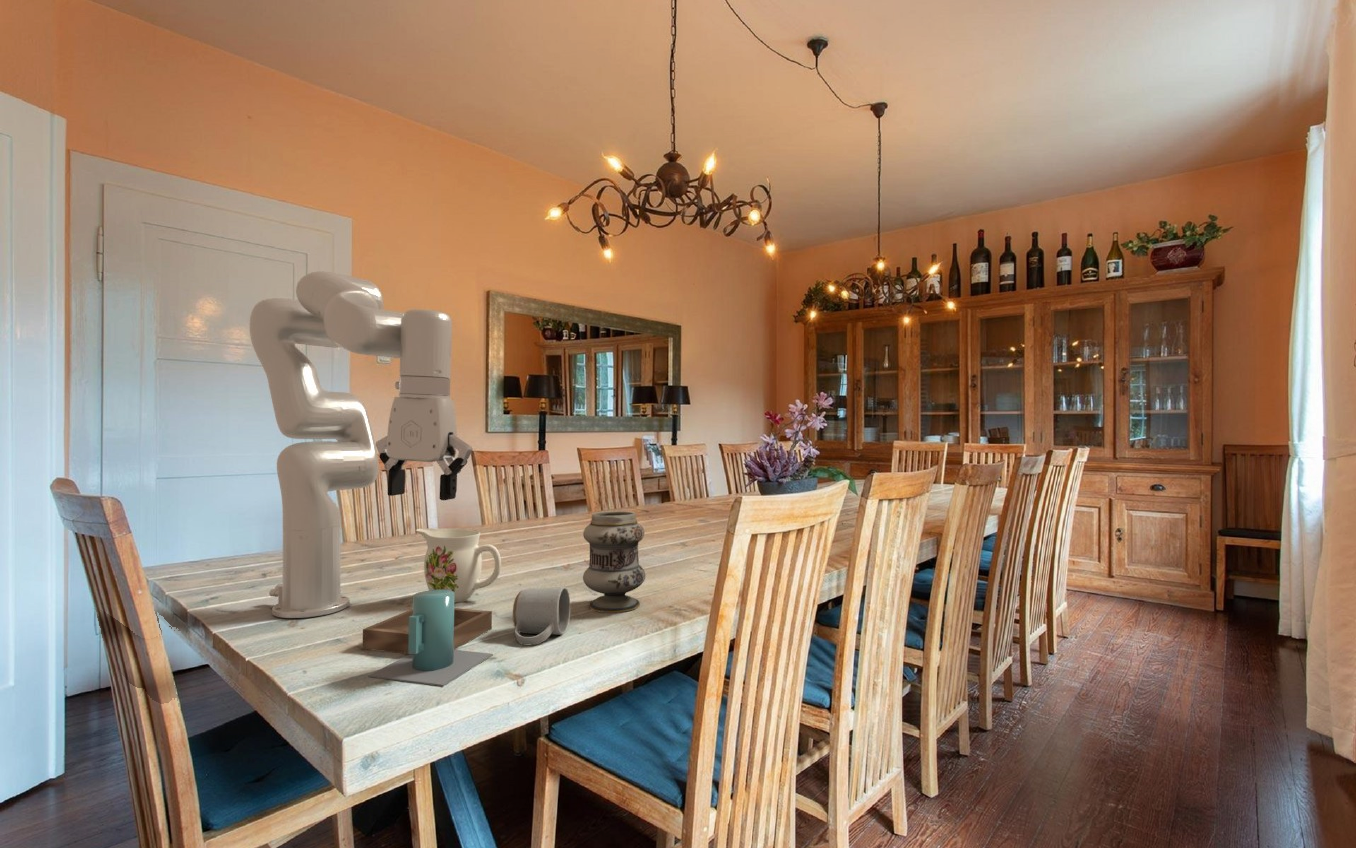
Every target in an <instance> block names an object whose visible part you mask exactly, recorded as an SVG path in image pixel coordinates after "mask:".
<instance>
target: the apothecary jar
mask: <svg viewBox="0 0 1356 848" xmlns="http://www.w3.org/2000/svg"><path fill="white" fill-rule="evenodd" d="M582 534H583V538H584V540H585V541H586V542H587V543H589V565H588V568H586V570H585V571H584V572H583V575H582V580H583V581H582V582H583V583H584V584H585V586H586V587H587V588H588V589H590V590H591V591H594V592H596V593H599V594H603V595H601V596H599V597H597V598H595V599H593V600H591V601H590V602H589V604H588V608H589V609H590V610H592V611H593V612H597V613H598V612H599V613H603V614H604V613H605V614H606V613H608V614H615V613H616V614H617V613H625V612H630V611H633V610H636V609H638V608H640V605H641V602H640V601H639V600H638V599H637V598H635V597H632V596H630V595H626V594H627V593H629V592H632V591H634V590H636V589H638V588H639V587H640V586H641V585H642V584H643V583H644V582H645V580H646V572H645V569H644V568H643V567H642V566H641V565H640V562H639V561H640V560H639V543H640V542H641V541H642V540H643V539H644V537H645V529H644V527H643V526H642V525H641V524H640V523H638V520H637V516H636V512H634V511H630V510H607V511H598V512H593V513H592V514H591V519H590V523H589V524H588V525H586V527H585V528H584V530H583V533H582Z"/></svg>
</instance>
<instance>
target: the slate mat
mask: <svg viewBox="0 0 1356 848" xmlns="http://www.w3.org/2000/svg"><path fill="white" fill-rule="evenodd" d="M493 655H494V653H488V652H479V651H470V650H460V649H455V650H454V661H453V664H451V665H450V666H448V667H446V668H443V669H439V670H433V671H420V670H416V669H414V668H413V667H412V654H407V655H404V656H403V657H401V658H399V659H398V660H394V661H393V662H391V663H390V664H387V665H385V666H383V667H381V668H380V669H378V670H375V671H374V672H371V673H370V674H368V676H367V677H369V678H375V679H383V680H384V679H385V680H390V681H398V682H407V683H412V684H413V683H414V684H420V685H421V684H422V685H429V686H438V687H445V686H447V685H448V684H449V683H451V682H453V681H454V680H456V679H457V678H459V677H460V676H462V675H464V674H465V673H467V672H468V671H470V670H472V669H473V668H475V667H476V666H478V665H479V664H481V663H483V662H484V661H486V660H487V659H489V658H490V657H493Z"/></svg>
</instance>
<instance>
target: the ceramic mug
mask: <svg viewBox="0 0 1356 848" xmlns="http://www.w3.org/2000/svg"><path fill="white" fill-rule="evenodd" d="M568 590H569V589H567V587H566V586H555V587H554V586H553V587H552V586H551V587H536V588H535V587H534V588H532V587H531V588H526V589H522V590H520V591H519V592H518V593H517V595H516V596H515V599H514V602H513V607H512V621H513V625H514V633H515V638H516V640H517V642H518V643H520V644H521V643H522V644H521V645H524V644H531V645H530V646H535V644H536V645H538V644H541V643H543V642H545V641H546V640H547V639H548V638H549V637H550V636H551V635H555V636H556V635H558V636H560V635H564V634H565V633H566V632H567V629H568V628H569V627H568V626H569V624H570V619H571V600H570V593H569V591H568ZM520 633H525V634H531V635H533V634H537V635H534V636H522V635H521V634H520Z"/></svg>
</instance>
